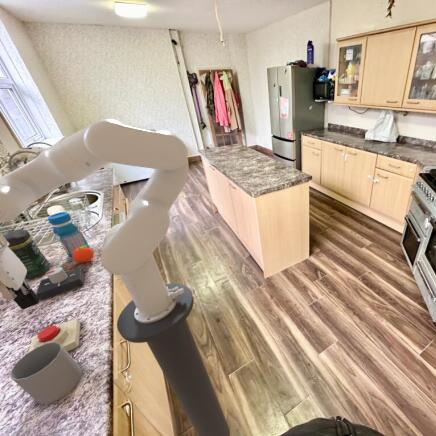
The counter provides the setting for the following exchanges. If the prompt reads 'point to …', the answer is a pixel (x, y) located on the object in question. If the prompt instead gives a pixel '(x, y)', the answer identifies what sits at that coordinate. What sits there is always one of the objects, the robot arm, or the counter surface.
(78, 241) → the beverage bottle
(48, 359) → the cup
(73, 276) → the fryer panel
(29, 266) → the coffee jar
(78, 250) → the tomato
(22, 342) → the counter surface
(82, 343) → the counter surface
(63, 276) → the timer knob
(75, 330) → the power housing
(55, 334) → the power button
